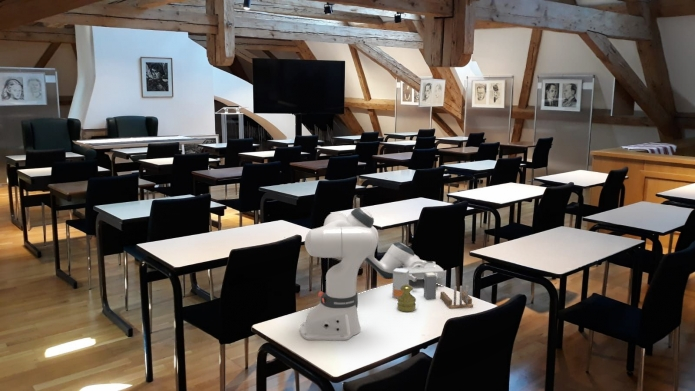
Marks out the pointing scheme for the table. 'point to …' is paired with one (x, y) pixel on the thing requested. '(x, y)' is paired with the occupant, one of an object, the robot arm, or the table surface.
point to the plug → (430, 285)
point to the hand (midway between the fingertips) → (425, 279)
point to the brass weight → (406, 299)
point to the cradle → (448, 301)
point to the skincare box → (399, 281)
